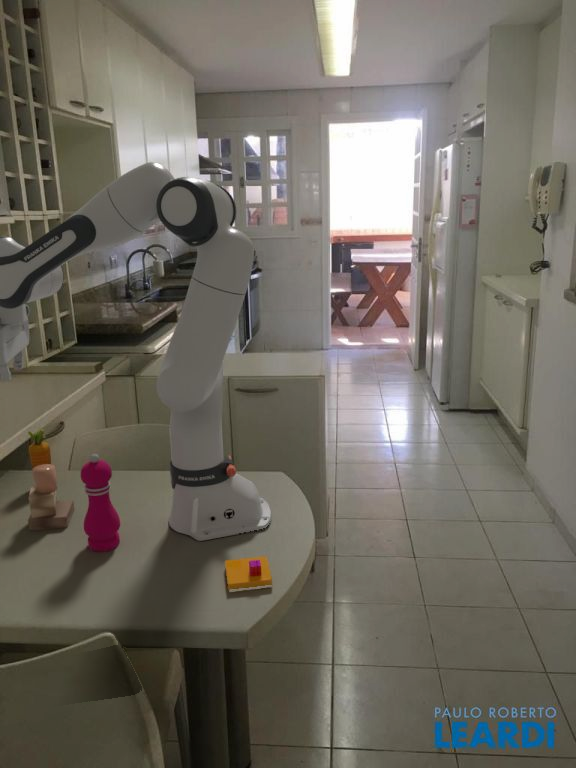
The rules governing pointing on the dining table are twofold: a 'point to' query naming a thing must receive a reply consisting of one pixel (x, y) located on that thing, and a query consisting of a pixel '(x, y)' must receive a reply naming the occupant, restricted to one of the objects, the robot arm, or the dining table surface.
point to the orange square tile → (248, 572)
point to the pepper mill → (99, 506)
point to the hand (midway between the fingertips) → (13, 374)
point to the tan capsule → (44, 479)
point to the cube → (42, 504)
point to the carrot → (39, 450)
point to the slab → (54, 517)
